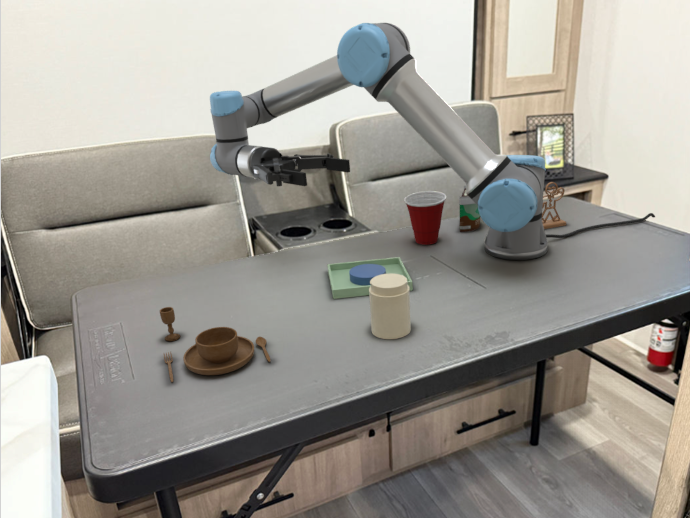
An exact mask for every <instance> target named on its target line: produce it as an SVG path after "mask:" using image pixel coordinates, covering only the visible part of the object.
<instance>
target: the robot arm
mask: <svg viewBox="0 0 690 518" xmlns="http://www.w3.org/2000/svg"><path fill="white" fill-rule="evenodd" d="M336 50H337V51H336V55H334V56H332V57H330V58H327V59H325V60H323V61H320V62H319V63H317V64H314V65H312V66H310V67H308V68H305V69H303V70H301V71H298V72H296V73H294V74H292V75H290V76H288V77H286V78H284V79H281V80H279V81H277V82H274V83H273V84H271V85H268V86H265V87H264V88H262V89H259V90H257V91H255V92H252V93H250V94H247V95H242V93H241V91H239V90H222V91H214V92H212V93H211V94H210V95H209V104H210V109H209V110H210V114H211V119H212V125H213V131H214V135H215V139H216V140H215V144H214V145H213V146H212V147H211V149H210V154H209V160H210V164H211V165H212V167H213V168H214V169H215V170H216V171H218V172H220V173H224V174H226V175H230V176H240V177H246V178H253V179H254V181H258V180H259V179H260V180H262V181H263V182H264V183H266V184H267V185H270V186H271V185H274V182H275V184H276V185H275V186H276V187H282V186H283V184H287V185H288V184H289V185H294V186H299V187H307V186H308V180H307V172H304V171H303V170H318V169H319V170H320V169H326V170H328V171H332V172H333V171H334V172H341V173H351V164H350V159H346V158H337V157H334V154H331V153H328V152H327V153H326V154H298V153H297V154H296V153H295V154H293V155H292V156H290V155H283V154H282V152H281V151H280V150H278V148H275V147H268V146H261V145H252V144H250V143H249V134H248V129H249V128H253V127H255V126H260V125H263V124H268V123H270V122H271V121H272V120H274V119H277V118H278V117H281V116H282V115H286V114H288V113H291V112H293V111H295V110H297V109H300V108H302V107H305V106H307V105H309V104H312V103H314V102H316V101H319V100H321V99H323V98H325V97H329V96H330V95H333V94H335V93H337V92H340V91H343V90H345V89H347V88H350V87H352V86H356V87H359V88H364V89H365V90H366V92H367V93H368V94H369V95H370V96H371V97H373V98H374V100H375V101H376V102H378V103H388V104H390V106H391V107H392V108H393V109H394V110H395V111H396V112H397V113H398V114H399V115H400V116H401V117H402V118H403V119H404V120H405V121H406V123H407V124H408V125H409V126H410V127H411V128H412V129H413V130H414V131H415V132H416V133H417V134H418V135H419V136H420V138H422V139H423V141H424V142H426V143H427V145H429V146H430V148H431V149H432V150H433V151H434V152H435V153H436V154H437V155H438V156H439V157H440V158H441V159H442V160H443V161H444V162H445V163H446V164H447V165H448V166H449V167H450V169H452V170H453V172H455V174H456V175H457V176H458V177H459V178H461V180H462V181H463V182H464V183H465V186H466V194H467V195H468V196H469V197H470V198H471V199H472V200H473V201H474V202H475V203H476V204H477V206H478V211H479V214H480V217H481V218H480V219H481V220H482V221H483V223H484V224H485V225H486V226H487V227H489V228H488V231H487V234H486V235H485V237H484V239H483V244H484V251H485V252H486V253H487V254H488V255H490V256H492V257H495V258H497V259H502V260H508V261H509V260H510V261H526V260H528V261H529V260H534V259H537V258H540V257H543V256H544V255H546V254H547V252H548V246H549V242H548V238H549V239H550V238H551V239H552V238H555V239H564V238H568V237H572V236H573V235H576V234H579V233H582V232H586V231H590V230H594V229H600V228H605V227H614V226H621V225H622V226H623V225H628V224H635V223H641V222H644V221H646V220H648V218H656V215H655V214H654V213H653V212H649V213H648V214H646V215H645V216H644V217H641V218H636V219H631V220H630V219H629V220H623V221H615V222H607V223H601V224H595V225H590V226H586V227H582V228H579V229H576V230H573V231H571V232H568V233H564V234H551V233H549V234H546V231H545V230H546V229H544V227H543V223H542V221H543V220H542V213H543V209H542V207H543V202H544V198H543V196H544V192H545V177H546V175H545V174H546V171H547V168H546V159H545V158H544V157H543V156H539V155H532V154H496V153H495V152H494V151H493V150H492V149H491V148H490V147H489V146H488V144H486V143H485V142H484V141H483V140H482V139H481V138H480V137H479V135H477V133H476V132H475V131H474V130H473V129H472V128H471V127H470V126H469V125H468V124H467V123H466V122H465V121H464V120H463V119H462V117H461V116H460V115H458V114H457V112H456V111H455V110H454V109H453V108H452V107H451V106H450V105H449V104H448V103H447V102H446V101H445V100H444V98H442V97H441V95H439V93H437V91H436V90H435V89H434V88H433V87H432V86H431V85H430V83H428V81H426V80H425V79H424V78H423V77H422V75H421V74H419V72H418V70H417V60H416V58H415V57H414V56H413V55H412V54H411V44H410V41H409V38H408V37H407V35H406V33H405V32H404V30H402V29H401V28H400V27H399V26H397V25H395V24H392V23H390V22H375V23H373V22H362V23H359V24H357V25H355V26H353V27H350V28H349V29H347V31H346V32H344V34H343V35H342V36H341V38H340V40H339V43H338V45H337V49H336ZM296 167H297V168H296Z"/></svg>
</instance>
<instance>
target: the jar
mask: <svg viewBox="0 0 690 518" xmlns="http://www.w3.org/2000/svg"><path fill="white" fill-rule="evenodd" d="M407 283H408V282H407V278H406V277H404V276H403V275H400V274H381V275H378V276H375V277H374V278H372V279H371V280H370V284H371V286H370V288H369V295H368V296H369V313H370V314H369V315H370V327H371V333H372V336H374V337H376V338H379V339H382V340H397V339H398V340H399V339H401V338H404V337H406V336H408V335H409V334H410V333H411V331H412V323H411V322H412V320H411V319H412V317H411V291H410V288H409V286H408V285H407Z"/></svg>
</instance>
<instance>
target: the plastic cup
mask: <svg viewBox="0 0 690 518" xmlns="http://www.w3.org/2000/svg"><path fill="white" fill-rule="evenodd" d="M446 199H447V194H446V193H444V192H441V191H438V190H436V191H435V190H422V191H416V192H413V193H410V194H408V195H406V196H405V197H404V198H403V202H404V203H405V205H406V208H407V211H408V214H409V219H410V224H411V228H412V231H413V238H414V240H415V243H417V244H419V245H422V246H423V245H425V246H426V245H427V246H428V245H433V244H436V243H437V242H438V240H439V236H440V229H441V224H442V216H443V211H444V206H445V202H446Z"/></svg>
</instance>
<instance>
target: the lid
mask: <svg viewBox="0 0 690 518" xmlns="http://www.w3.org/2000/svg"><path fill="white" fill-rule="evenodd" d="M349 274H350V281H351V282H352V283H354V284H356V285H362V286H367V285H371V284H370V280H371V279H372V278H374V277H375V276H378V275H381V274H386V269H385V267H383V266H381V265H377V264H362V265H358V266H355V267H353V268H351V269H350V271H349Z"/></svg>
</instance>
